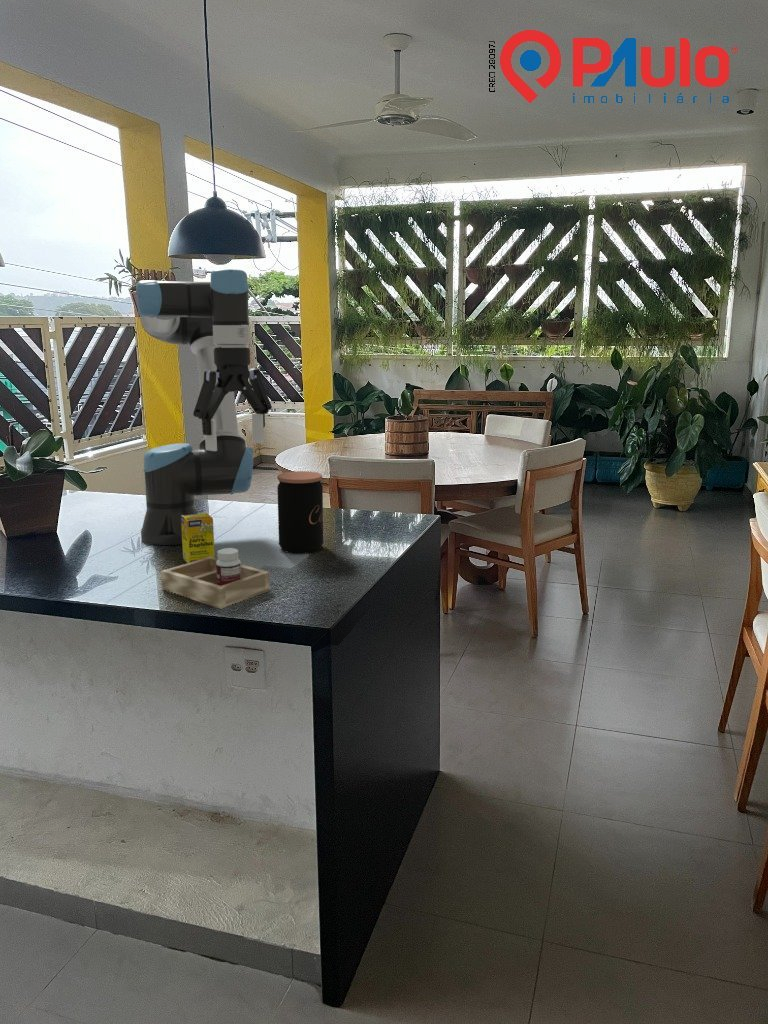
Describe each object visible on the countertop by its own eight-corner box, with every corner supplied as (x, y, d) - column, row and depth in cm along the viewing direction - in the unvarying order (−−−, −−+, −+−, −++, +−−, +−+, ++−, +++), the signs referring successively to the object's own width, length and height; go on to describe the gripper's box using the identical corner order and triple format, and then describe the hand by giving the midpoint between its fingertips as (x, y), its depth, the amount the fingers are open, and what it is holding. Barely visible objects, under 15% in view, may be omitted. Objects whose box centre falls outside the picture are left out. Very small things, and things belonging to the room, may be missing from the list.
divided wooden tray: (162, 589, 155) (161, 571, 154) (211, 573, 165) (210, 556, 164) (221, 608, 144) (220, 588, 144) (269, 590, 155) (269, 572, 154)
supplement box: (189, 568, 168) (186, 520, 166) (182, 561, 173) (180, 514, 171) (215, 565, 171) (213, 517, 168) (208, 557, 176) (206, 512, 174)
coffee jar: (316, 555, 178) (315, 480, 174) (272, 552, 180) (270, 478, 176) (328, 543, 188) (327, 472, 184) (287, 541, 191) (285, 470, 186)
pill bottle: (219, 587, 154) (217, 547, 152) (242, 586, 155) (241, 547, 153) (215, 595, 150) (213, 554, 148) (240, 594, 150) (238, 554, 148)
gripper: (196, 347, 148) (202, 455, 153) (286, 345, 168) (288, 441, 173) (172, 347, 153) (178, 451, 158) (261, 345, 172) (264, 438, 177)
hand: (235, 446), depth 165 cm, fingers open, 13 cm apart
